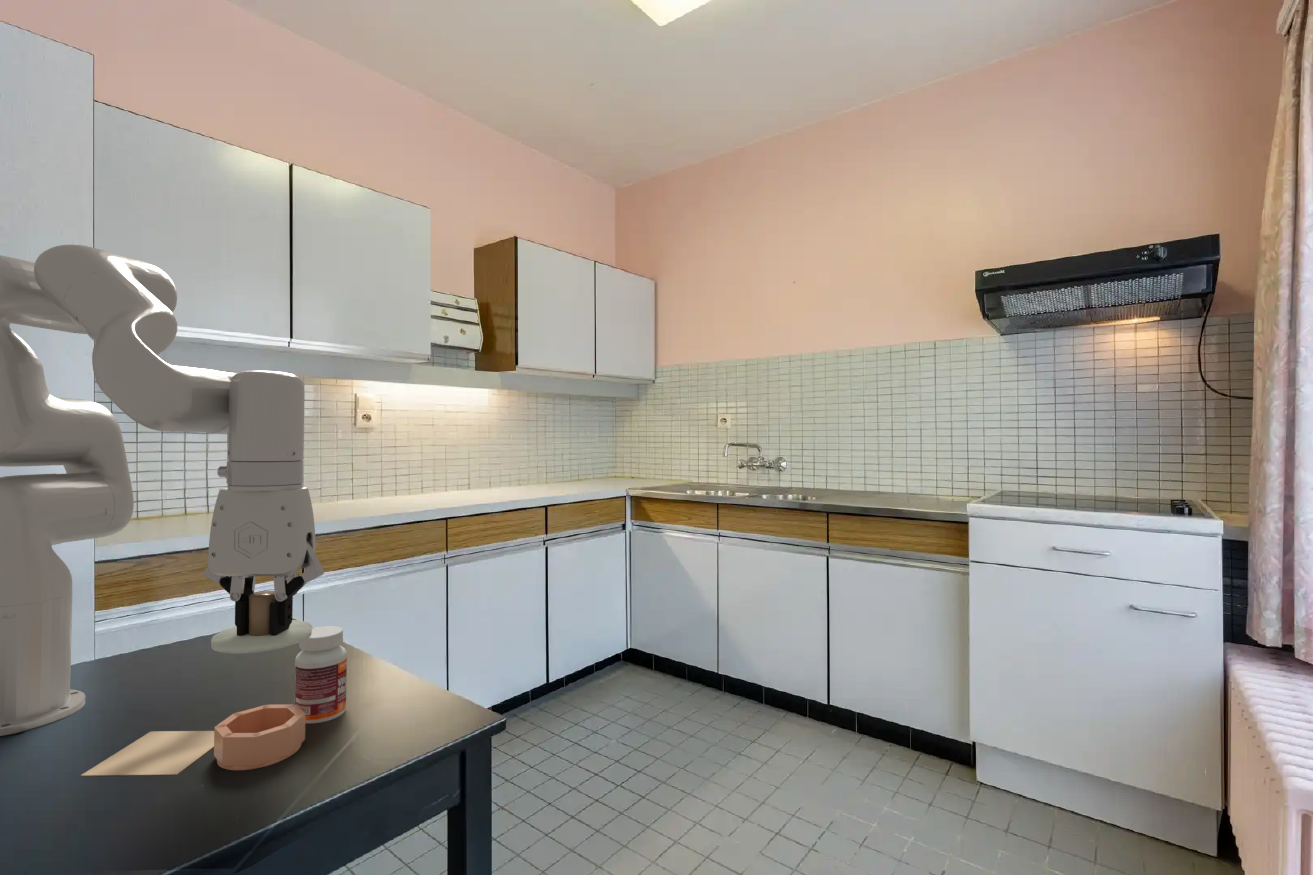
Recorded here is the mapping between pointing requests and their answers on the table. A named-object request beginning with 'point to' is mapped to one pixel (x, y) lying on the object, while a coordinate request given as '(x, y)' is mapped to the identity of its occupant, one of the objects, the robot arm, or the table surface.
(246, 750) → the bowl
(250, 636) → the lid
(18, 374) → the robot arm
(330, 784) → the table surface
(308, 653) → the pill bottle
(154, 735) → the mat
